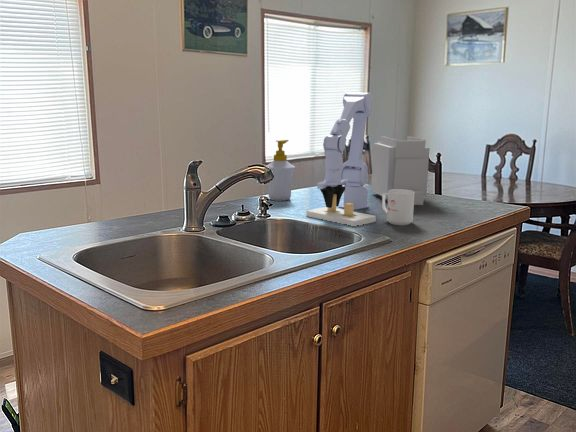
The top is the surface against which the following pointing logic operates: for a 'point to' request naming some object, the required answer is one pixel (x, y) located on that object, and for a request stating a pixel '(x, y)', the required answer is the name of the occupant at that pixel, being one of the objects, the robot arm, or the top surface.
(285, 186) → the soap bottle
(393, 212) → the mug
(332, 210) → the peg
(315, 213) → the housing
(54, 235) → the top surface
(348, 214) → the peg
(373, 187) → the light grey angular block
